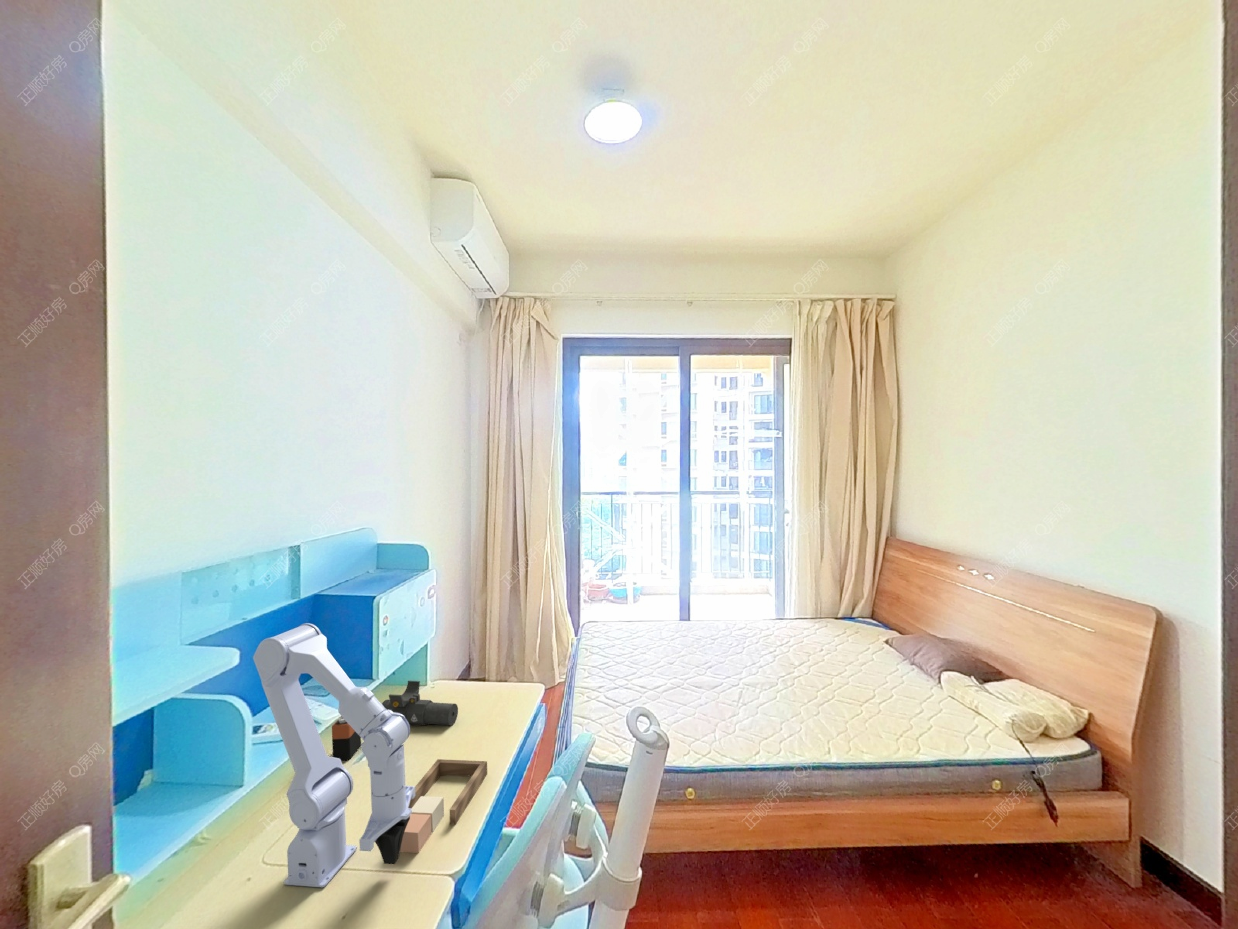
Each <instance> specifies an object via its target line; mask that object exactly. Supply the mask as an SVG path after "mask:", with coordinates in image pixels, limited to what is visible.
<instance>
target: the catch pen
mask: <svg viewBox="0 0 1238 929" xmlns="http://www.w3.org/2000/svg"><path fill="white" fill-rule="evenodd" d="M487 775H488V760H464V759H463V760H462V759H461V760H460V759H437V760H435V762H434V763H433V764H432V766H431V767H430V768H429V769H428V771H427V772H426V773H425V774H424V775H423V776H422V778H421V779H420V780H419V782H417V784H416V785H414V786H415V797H414V798H413V799H411V800H410V804H409V807H408V808H411V809H412V807H413V806H414V805H415V803H416V802H417V801H418V799H419V798H420V797H421V796H426V794H427V793H428V792H429V790H430V789H431V788H432V787H433V786H434V784H435V782H437V780H438V779H439V777H440V776H457V777H459V776H460V777H470V778H469V780H468V781H467V783H466V784H465V786H464V788H463V789H462V791H461V792H460V793H459V795H458V796H457V798H456V800H455V801H454V802H453V804H452V806H450V808H449V825H457V823H458V822H459V821H460V818H461V816H462V815H463V813H464V812H465V810H466V809H467V807H468V805H469V804H470V802H471V801H472V799H473V798H474V796H475V794H476V793H477V791H478V790H479V788H480V786H481V785H482V783H483V782H484V780H485V778H486V777H487Z"/></svg>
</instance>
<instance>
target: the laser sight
mask: <svg viewBox="0 0 1238 929" xmlns="http://www.w3.org/2000/svg"><path fill="white" fill-rule="evenodd" d="M420 683H421V681H420V680H407V685H406V689H405V690H404V691H403V693H402V694H389V695H388V698H389V699H385V700H384V701H382V703H381V704H382V705H383V706H384V707H385V708H386V710H388V709H389V710H391V711H392V712H395V713H400V714H402V715H404V716H405V718H406V720H407V721H408V723H409V726H412V725H413V726H427V725H438V726H439V725H443V726H454V724H455V722H456V721H457V718H458V715H459V714H458V713H459V708H458V704H457V703H449V702H447V703H446V702H433V701H432V700H431V699H421V696H420V686H421V684H420Z"/></svg>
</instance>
